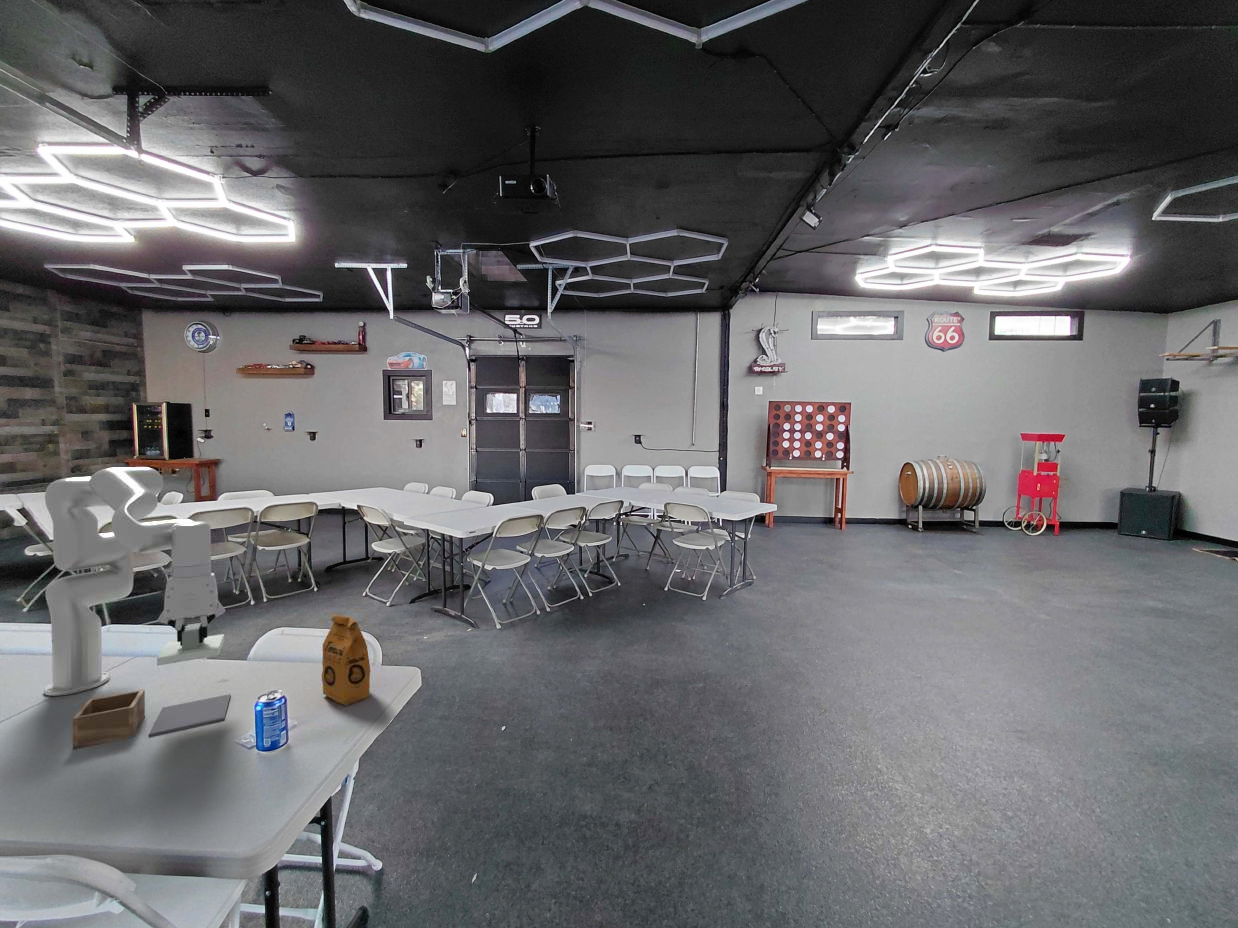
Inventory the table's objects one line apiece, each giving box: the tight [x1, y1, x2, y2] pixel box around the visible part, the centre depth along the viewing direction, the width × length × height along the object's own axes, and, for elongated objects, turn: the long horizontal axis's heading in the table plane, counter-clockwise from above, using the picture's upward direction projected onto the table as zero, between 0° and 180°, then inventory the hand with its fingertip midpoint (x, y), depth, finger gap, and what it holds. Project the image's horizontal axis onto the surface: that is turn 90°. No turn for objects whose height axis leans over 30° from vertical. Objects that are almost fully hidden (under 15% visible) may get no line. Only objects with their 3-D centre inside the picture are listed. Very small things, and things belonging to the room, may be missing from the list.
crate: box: [71, 689, 146, 750], centre depth 118 cm, size 10×10×7 cm
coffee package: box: [321, 614, 371, 706], centre depth 137 cm, size 10×12×22 cm
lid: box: [156, 622, 225, 666], centre depth 126 cm, size 11×11×6 cm
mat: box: [148, 693, 231, 737], centre depth 127 cm, size 14×14×1 cm
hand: (192, 641), depth 126 cm, fingers closed on lid, 3 cm apart
